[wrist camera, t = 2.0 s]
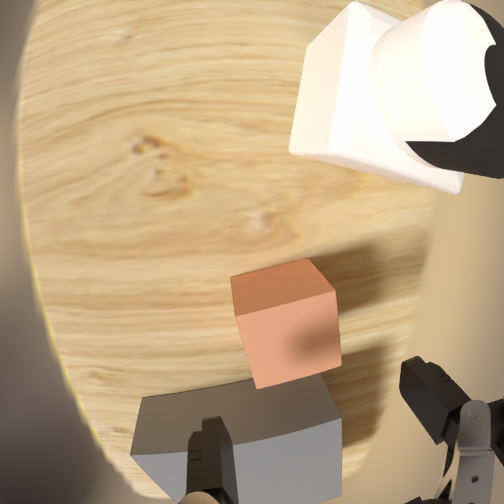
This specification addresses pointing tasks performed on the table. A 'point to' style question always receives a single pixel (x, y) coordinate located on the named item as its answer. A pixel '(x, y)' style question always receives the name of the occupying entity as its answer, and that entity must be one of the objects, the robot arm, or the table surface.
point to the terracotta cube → (287, 322)
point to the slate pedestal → (249, 439)
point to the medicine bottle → (405, 95)
